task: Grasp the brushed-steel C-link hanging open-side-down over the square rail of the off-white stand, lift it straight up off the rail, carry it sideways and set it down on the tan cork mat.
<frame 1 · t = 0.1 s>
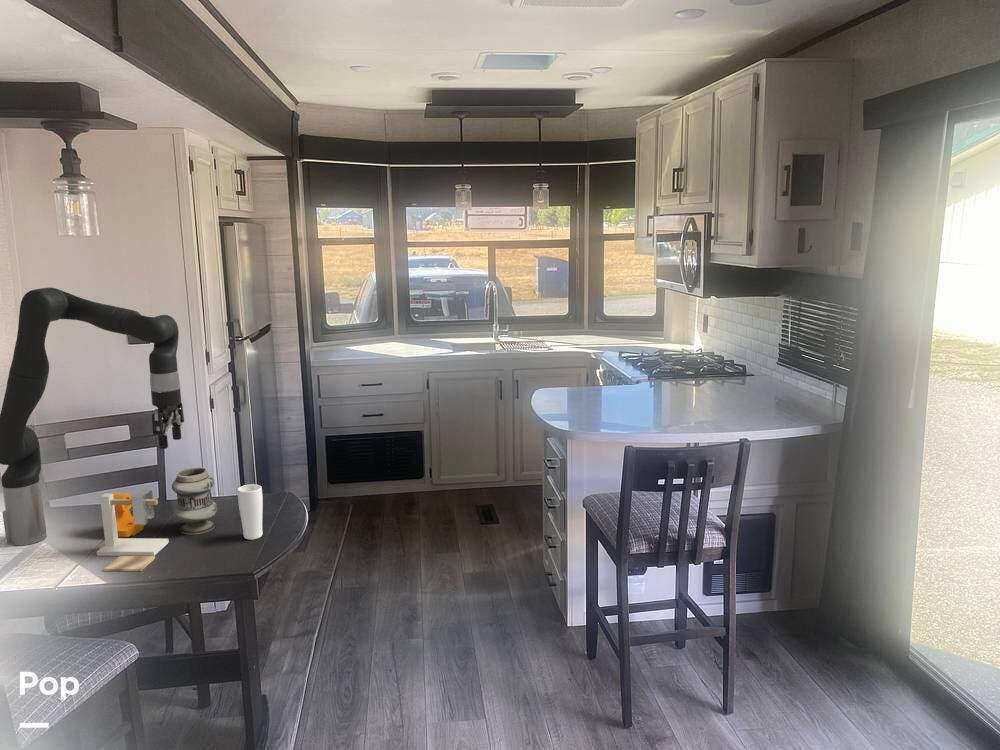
hand: (170, 443, 217), 29 cm above the table, fingers open, 8 cm apart
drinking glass: (253, 537, 226), on the table
cork mat: (129, 564, 208), on the table
bracket: (127, 532, 230), on the table
c link: (144, 520, 216), point 9 cm above the table, touching stand
stand: (133, 548, 218), on the table
apothecary jar: (197, 528, 232), on the table
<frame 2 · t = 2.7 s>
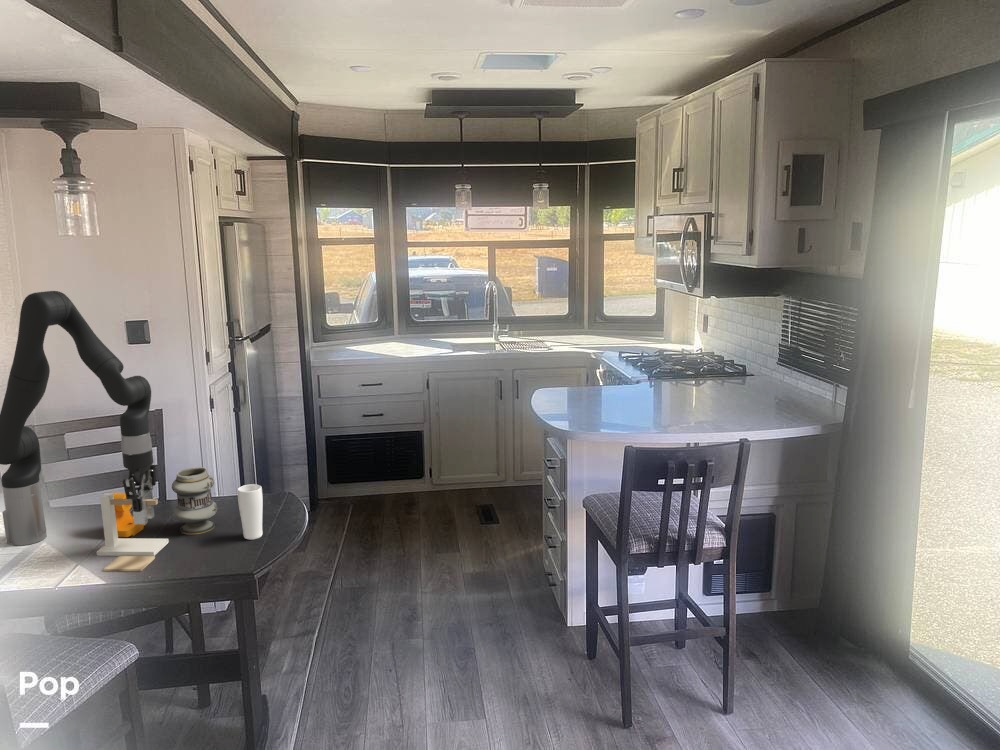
hand: (143, 507, 215), 13 cm above the table, fingers closed on c link, 5 cm apart
c link: (144, 520, 216), point 9 cm above the table, touching gripper, stand
everything else where it was.
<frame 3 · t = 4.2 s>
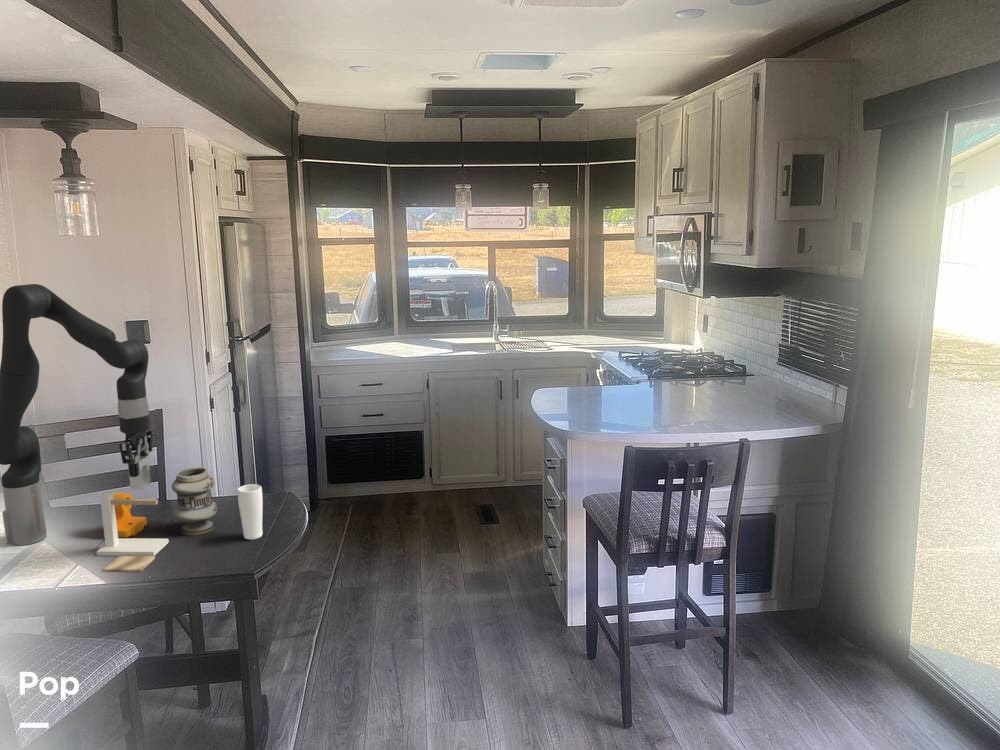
hand: (139, 472, 213), 23 cm above the table, fingers closed on c link, 5 cm apart
c link: (141, 486, 214), point 19 cm above the table, touching gripper
everything else where it was.
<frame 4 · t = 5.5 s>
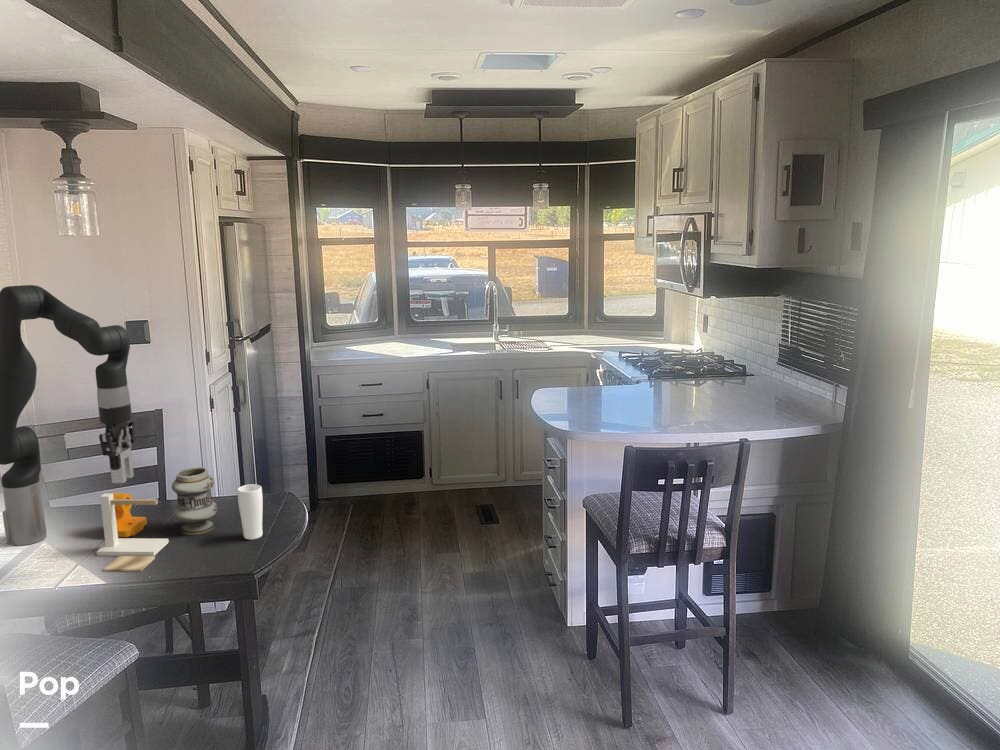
hand: (121, 465, 203), 28 cm above the table, fingers closed on c link, 5 cm apart
c link: (123, 479, 204), point 24 cm above the table, touching gripper
everything else where it was.
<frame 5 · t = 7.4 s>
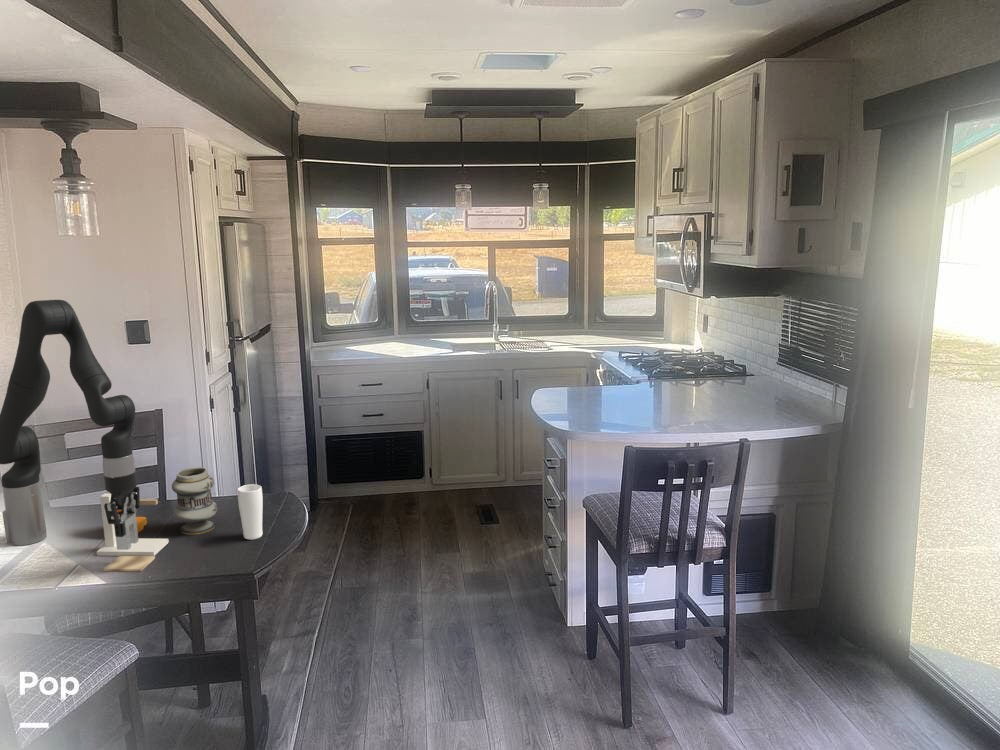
hand: (126, 531, 206), 10 cm above the table, fingers closed on c link, 5 cm apart
c link: (128, 545, 207), point 6 cm above the table, touching gripper
everything else where it was.
when the fingers open (6 cm above the table, at t = 8.7 s): c link drops 1 cm, resting on cork mat.
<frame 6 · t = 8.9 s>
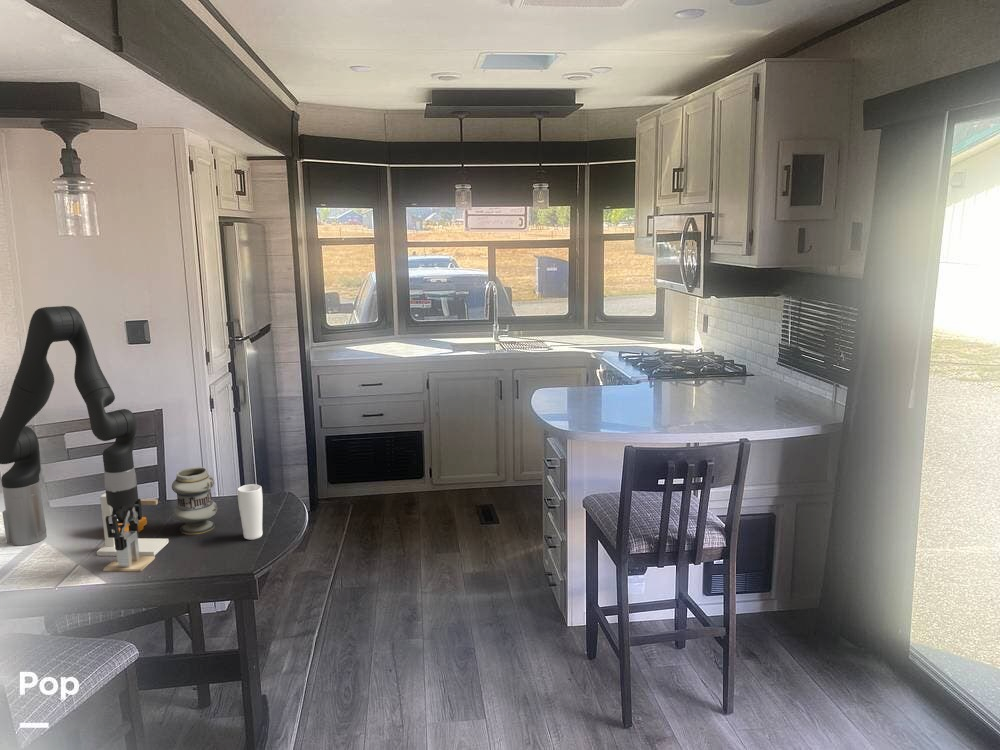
hand: (127, 543, 207), 6 cm above the table, fingers open, 7 cm apart
c link: (129, 562, 207), point 1 cm above the table, touching cork mat
everything else where it was.
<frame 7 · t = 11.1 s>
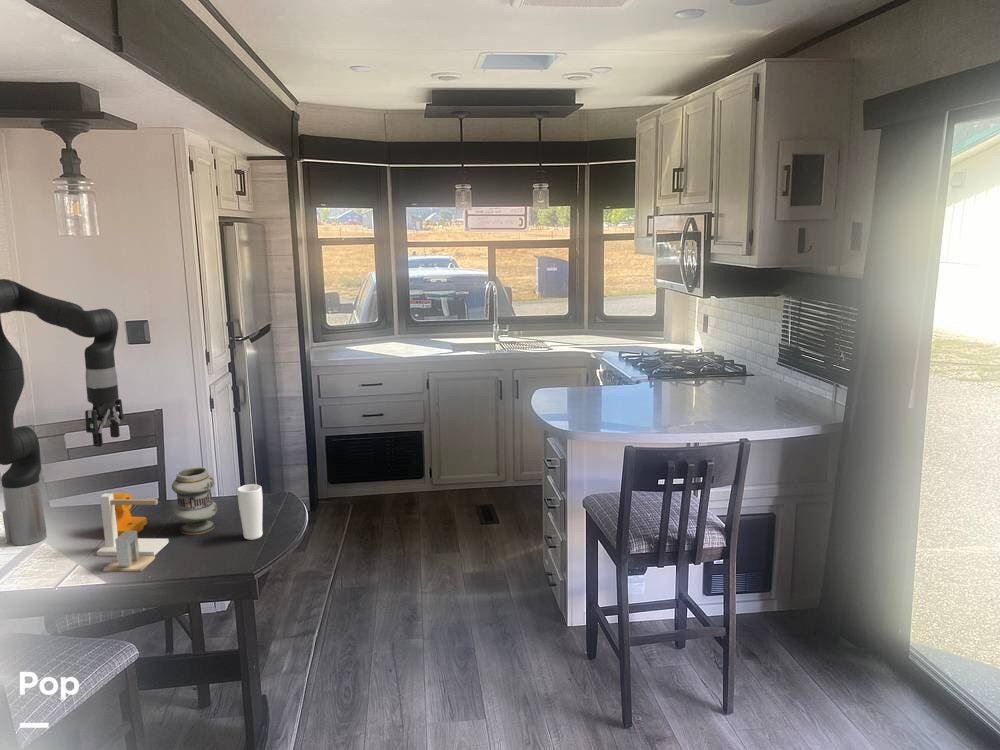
hand: (106, 441, 211), 32 cm above the table, fingers open, 8 cm apart
nothing on the table moved.
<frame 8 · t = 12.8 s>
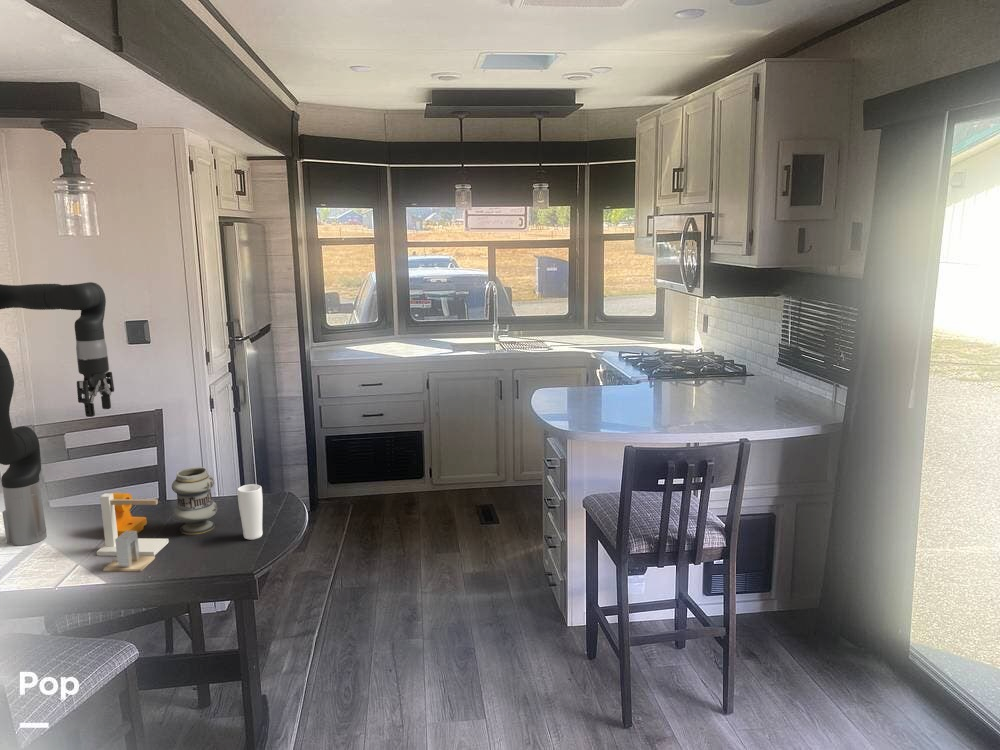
hand: (98, 412, 216), 38 cm above the table, fingers open, 8 cm apart
nothing on the table moved.
at the end: c link inside the target area on the cork mat (0.2 cm from its centre), point 0.6 cm above the cork mat's base; c link touching cork mat; the gripper is holding nothing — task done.
